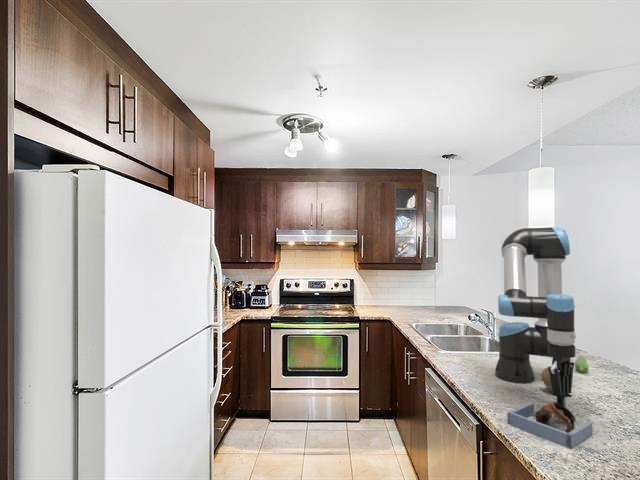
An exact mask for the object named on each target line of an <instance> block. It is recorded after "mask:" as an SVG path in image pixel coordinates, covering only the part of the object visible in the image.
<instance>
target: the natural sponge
mask: <svg viewBox="0 0 640 480" xmlns="http://www.w3.org/2000/svg"><path fill="white" fill-rule="evenodd" d="M548 367H552V365H551V366H548ZM548 367H546V368H544V369H543V370H542V372H541V375H540V377H541V380H542V382H543V384H544V386H545V387H546V388H547V390H548V391H550V392H551V393H552V386H551V379H550V373H549V371H548Z"/></svg>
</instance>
